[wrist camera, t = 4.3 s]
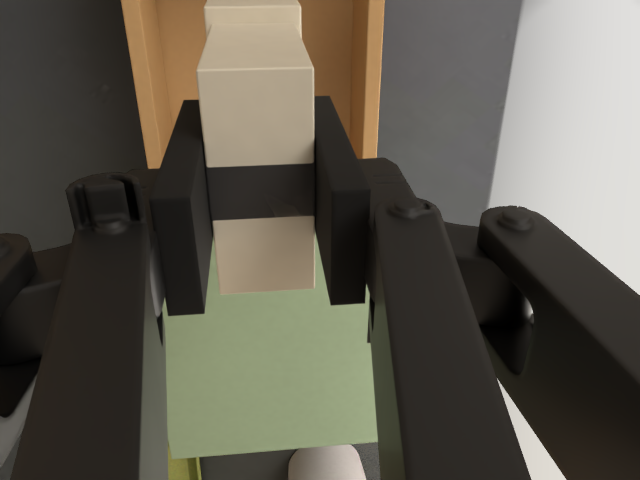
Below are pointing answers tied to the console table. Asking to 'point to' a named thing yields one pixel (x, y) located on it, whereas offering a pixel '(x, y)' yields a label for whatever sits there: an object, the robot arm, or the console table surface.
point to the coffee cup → (326, 464)
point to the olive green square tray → (183, 468)
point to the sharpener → (259, 144)
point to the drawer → (318, 38)
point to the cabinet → (268, 372)
